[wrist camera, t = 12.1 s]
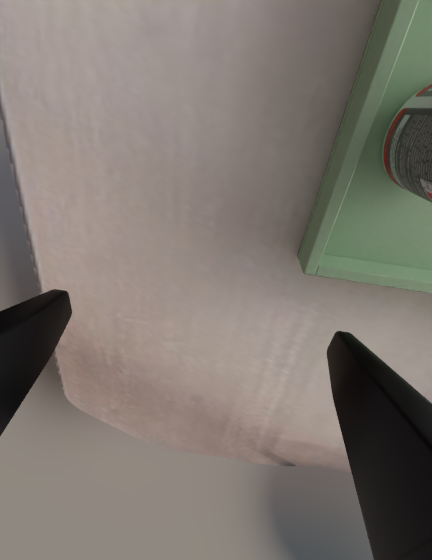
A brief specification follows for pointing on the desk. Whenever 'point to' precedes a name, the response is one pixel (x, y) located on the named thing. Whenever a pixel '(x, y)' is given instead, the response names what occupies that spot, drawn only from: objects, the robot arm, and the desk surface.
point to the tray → (376, 166)
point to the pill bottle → (411, 145)
